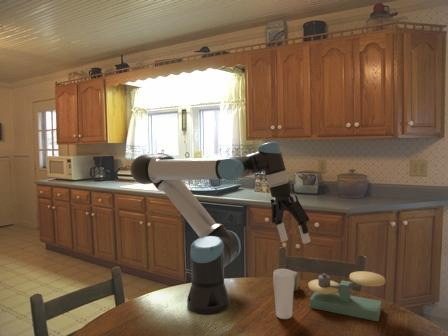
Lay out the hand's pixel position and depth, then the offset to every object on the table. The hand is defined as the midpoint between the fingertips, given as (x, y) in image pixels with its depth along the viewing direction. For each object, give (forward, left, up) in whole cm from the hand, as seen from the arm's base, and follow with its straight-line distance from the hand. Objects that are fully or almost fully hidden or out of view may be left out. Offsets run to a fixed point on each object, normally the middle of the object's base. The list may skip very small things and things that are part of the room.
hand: (295, 241), depth 126 cm
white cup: (0, -12, -22) cm, 25 cm away
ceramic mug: (-6, +11, -22) cm, 25 cm away
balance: (+17, +2, -22) cm, 28 cm away
